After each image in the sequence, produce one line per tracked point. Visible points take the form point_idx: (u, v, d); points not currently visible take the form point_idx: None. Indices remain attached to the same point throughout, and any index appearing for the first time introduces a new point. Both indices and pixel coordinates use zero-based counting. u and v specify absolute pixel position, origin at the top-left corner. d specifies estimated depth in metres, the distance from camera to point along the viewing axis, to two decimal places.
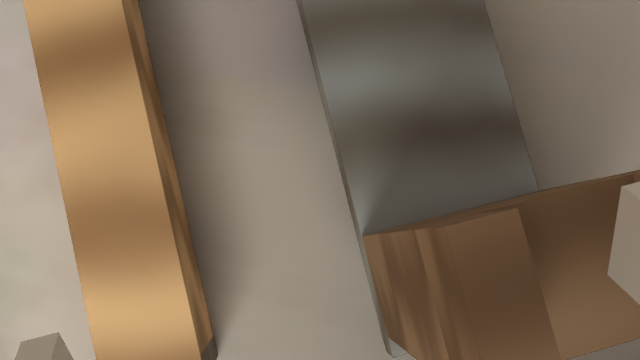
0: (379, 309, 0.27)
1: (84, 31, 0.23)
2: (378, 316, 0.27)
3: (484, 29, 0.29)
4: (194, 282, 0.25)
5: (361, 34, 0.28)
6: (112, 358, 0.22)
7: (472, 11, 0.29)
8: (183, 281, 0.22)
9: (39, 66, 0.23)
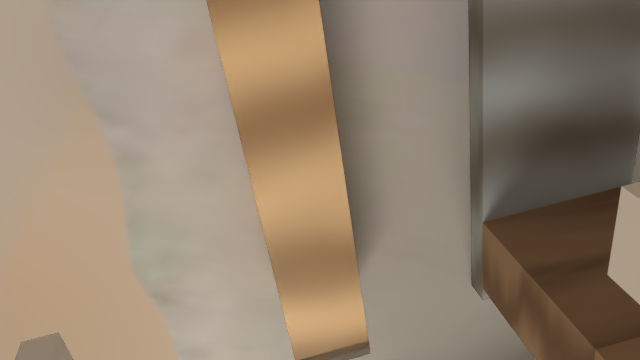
0: (480, 268, 0.33)
1: (287, 93, 0.21)
2: (473, 266, 0.34)
3: None
4: None
5: (532, 42, 0.26)
6: (304, 346, 0.28)
7: None
8: (361, 296, 0.27)
9: (242, 131, 0.22)
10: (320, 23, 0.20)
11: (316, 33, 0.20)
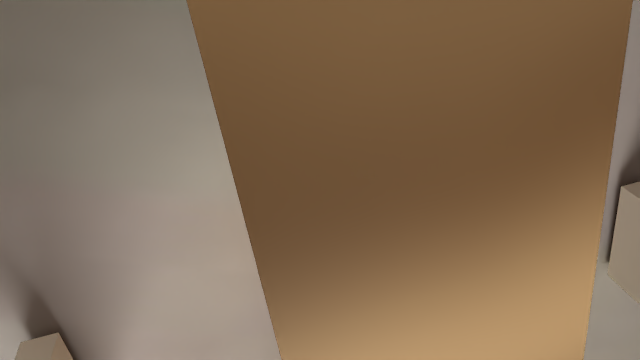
0: None
1: None
2: None
3: None
4: None
5: None
6: None
7: None
8: None
9: None
10: (588, 289, 0.07)
11: (569, 313, 0.07)
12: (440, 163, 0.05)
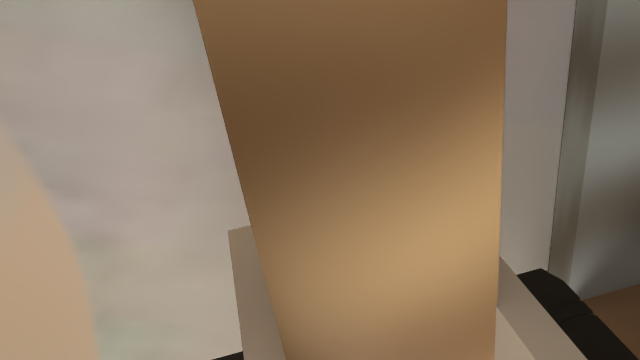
0: None
1: (406, 324, 0.10)
2: None
3: None
4: None
5: None
6: None
7: None
8: None
9: None
10: (497, 189, 0.09)
11: (484, 210, 0.09)
12: (370, 77, 0.07)
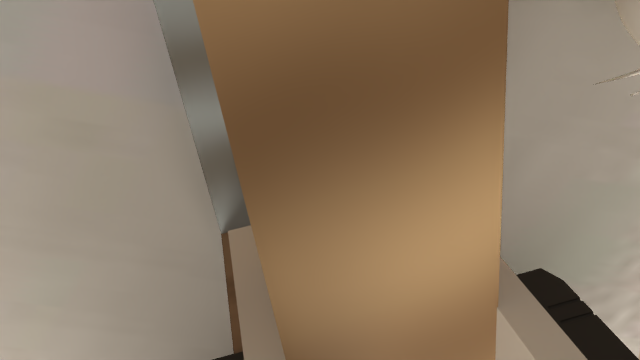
0: None
1: (407, 323, 0.10)
2: None
3: None
4: None
5: None
6: None
7: None
8: None
9: None
10: (498, 188, 0.09)
11: (485, 208, 0.09)
12: (370, 73, 0.07)
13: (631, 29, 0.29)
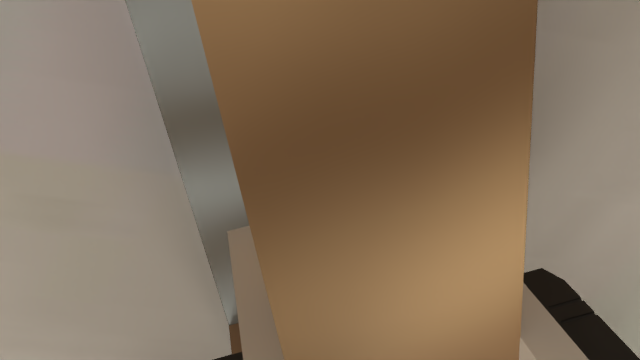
0: None
1: None
2: None
3: None
4: None
5: None
6: None
7: None
8: None
9: None
10: (522, 217, 0.08)
11: (507, 239, 0.08)
12: (388, 99, 0.07)
13: None
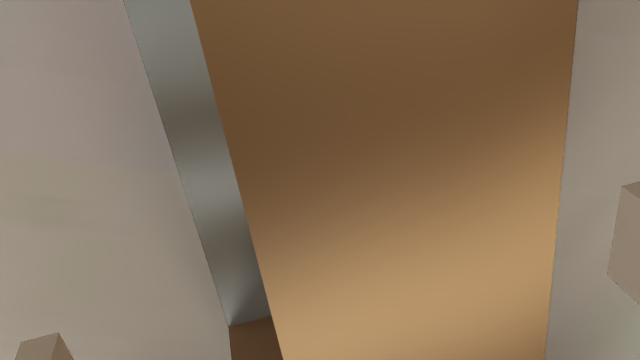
0: None
1: None
2: None
3: None
4: None
5: None
6: None
7: None
8: None
9: None
10: (552, 231, 0.07)
11: (535, 254, 0.07)
12: (410, 101, 0.06)
13: None
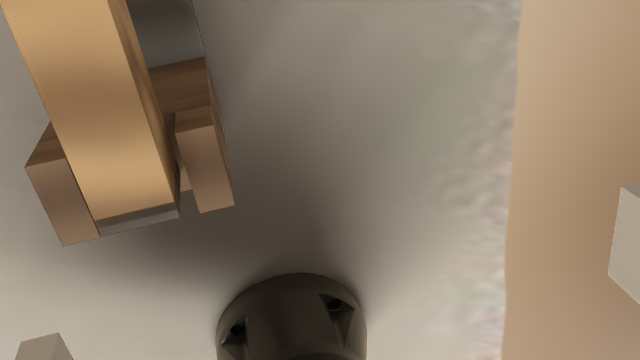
0: None
1: None
2: None
3: None
4: (160, 129, 0.28)
5: None
6: (101, 204, 0.27)
7: None
8: (155, 147, 0.26)
9: None
10: None
11: None
12: None
13: None
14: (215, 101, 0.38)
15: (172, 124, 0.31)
